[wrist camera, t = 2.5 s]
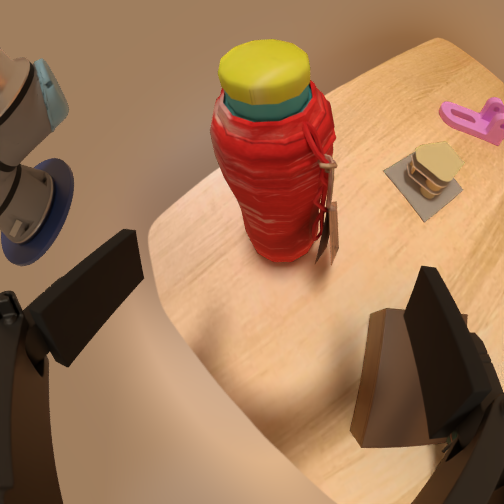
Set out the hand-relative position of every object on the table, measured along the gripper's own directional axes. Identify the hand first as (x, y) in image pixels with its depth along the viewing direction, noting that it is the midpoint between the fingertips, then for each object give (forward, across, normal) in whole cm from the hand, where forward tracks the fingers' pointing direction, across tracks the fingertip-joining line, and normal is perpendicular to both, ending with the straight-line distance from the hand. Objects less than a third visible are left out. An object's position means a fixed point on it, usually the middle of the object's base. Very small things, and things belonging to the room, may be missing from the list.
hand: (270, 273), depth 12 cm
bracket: (+40, +30, +10) cm, 51 cm away
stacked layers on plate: (+29, +18, 0) cm, 34 cm away
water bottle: (+20, 0, -9) cm, 22 cm away
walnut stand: (+10, +15, -19) cm, 26 cm away
